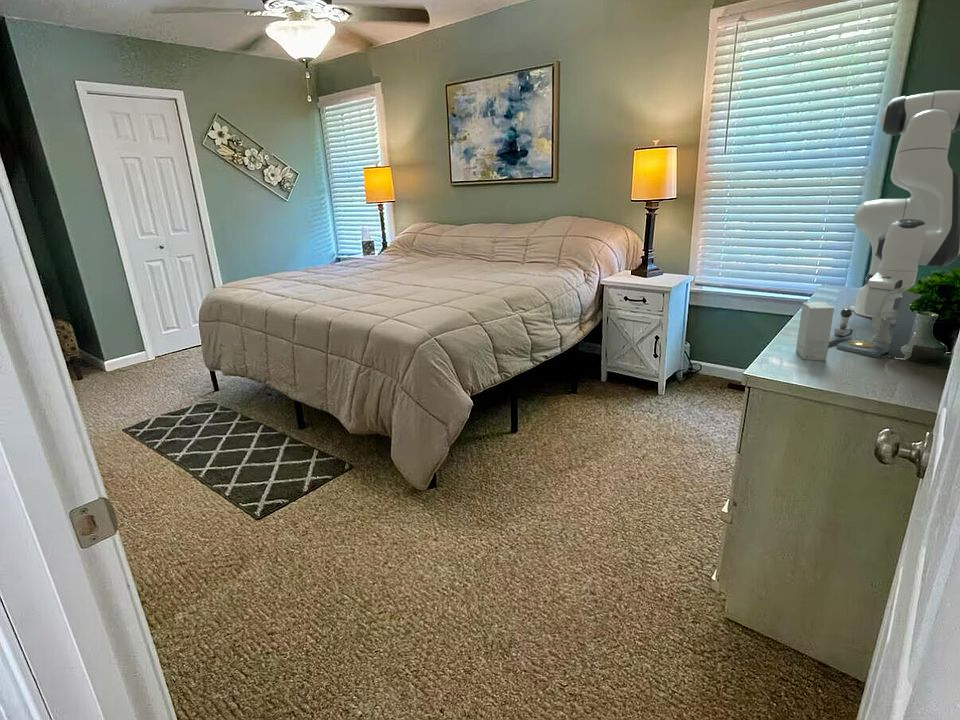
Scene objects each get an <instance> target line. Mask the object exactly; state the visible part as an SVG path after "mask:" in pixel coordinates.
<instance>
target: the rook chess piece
mask: <svg viewBox="0 0 960 720" xmlns="http://www.w3.org/2000/svg"><path fill="white" fill-rule="evenodd" d="M891 322H892V320H891V318H890V317H888V318H886V316H884V318H883V317H882V318H881V323H882V326H881V328H880V329H876V330H877V331H876V333H875V334H874V335H872V336H871V338H872V339H871V340H870V341H871V342H876V343H880V344H885V345H890V342H891V338H890V336H889V328H890V327H891V324H890V323H891Z"/></svg>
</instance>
